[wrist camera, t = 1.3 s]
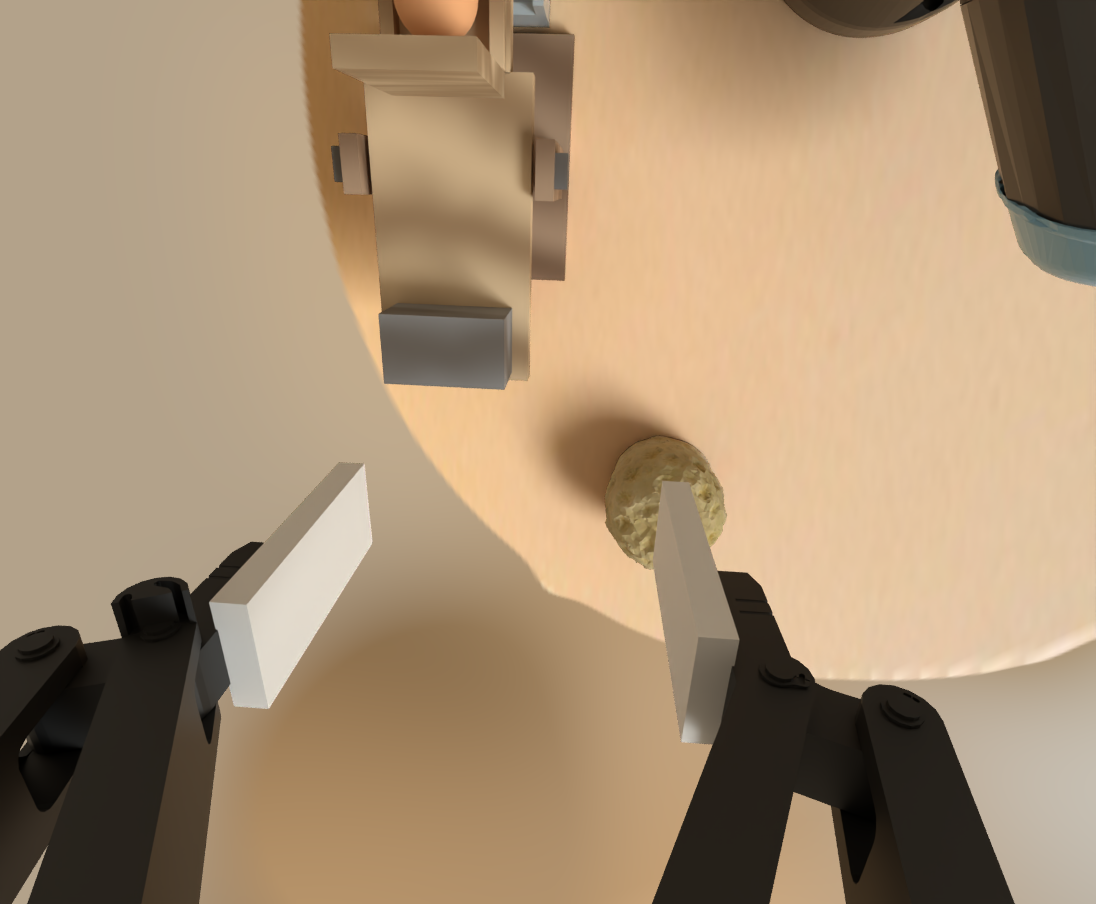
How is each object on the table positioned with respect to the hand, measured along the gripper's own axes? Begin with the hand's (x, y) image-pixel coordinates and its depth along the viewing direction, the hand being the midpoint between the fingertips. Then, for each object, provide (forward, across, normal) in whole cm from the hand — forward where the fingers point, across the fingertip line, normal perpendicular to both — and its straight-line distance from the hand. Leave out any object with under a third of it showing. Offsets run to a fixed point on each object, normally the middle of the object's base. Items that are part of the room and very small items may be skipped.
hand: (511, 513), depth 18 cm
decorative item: (+31, +9, -14) cm, 35 cm away
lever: (+22, -6, +9) cm, 24 cm away
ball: (+19, -6, +17) cm, 26 cm away
